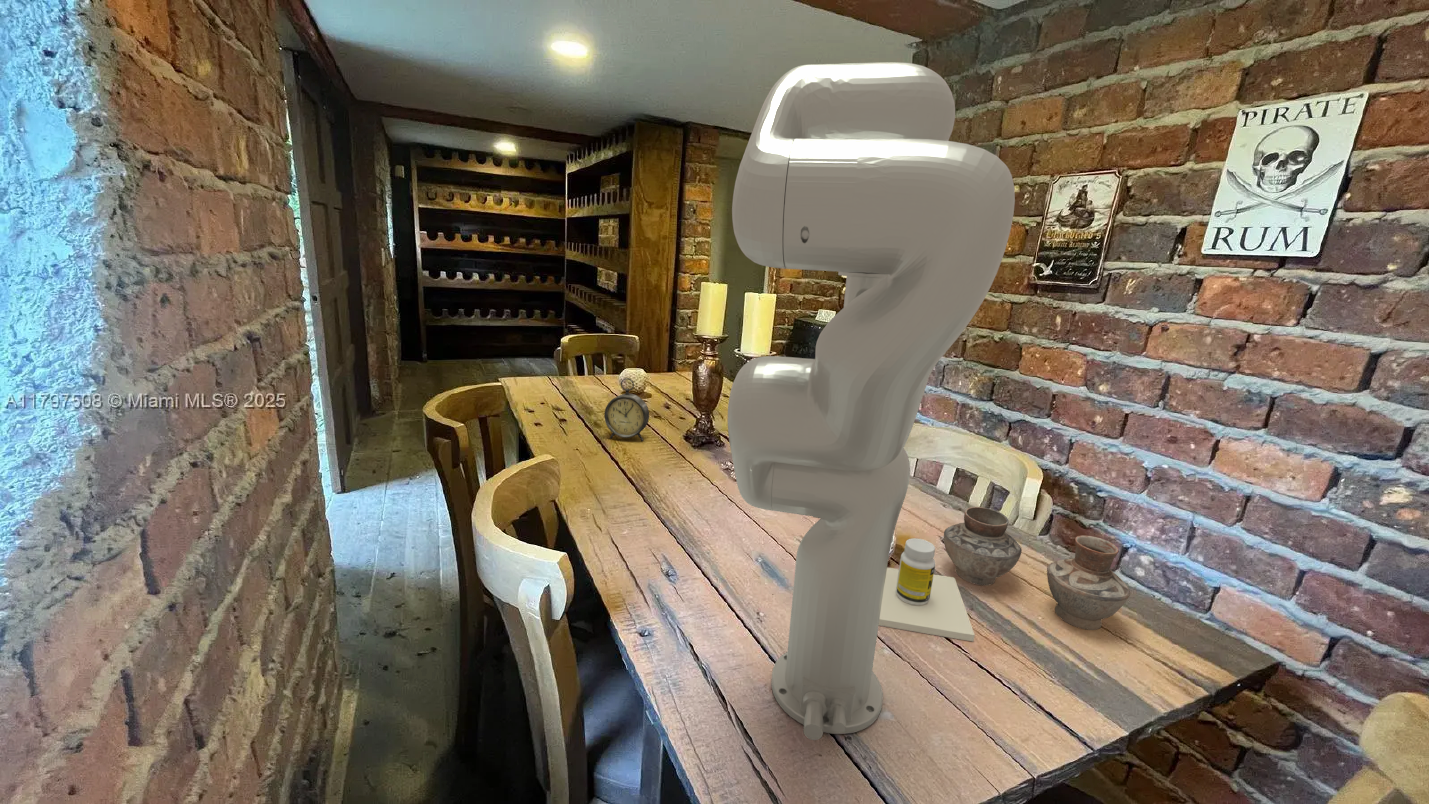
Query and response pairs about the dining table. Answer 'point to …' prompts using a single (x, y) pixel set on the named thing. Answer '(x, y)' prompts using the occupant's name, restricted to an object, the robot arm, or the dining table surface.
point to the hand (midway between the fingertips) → (852, 384)
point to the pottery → (1073, 582)
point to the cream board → (927, 609)
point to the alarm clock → (626, 415)
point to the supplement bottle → (916, 572)
